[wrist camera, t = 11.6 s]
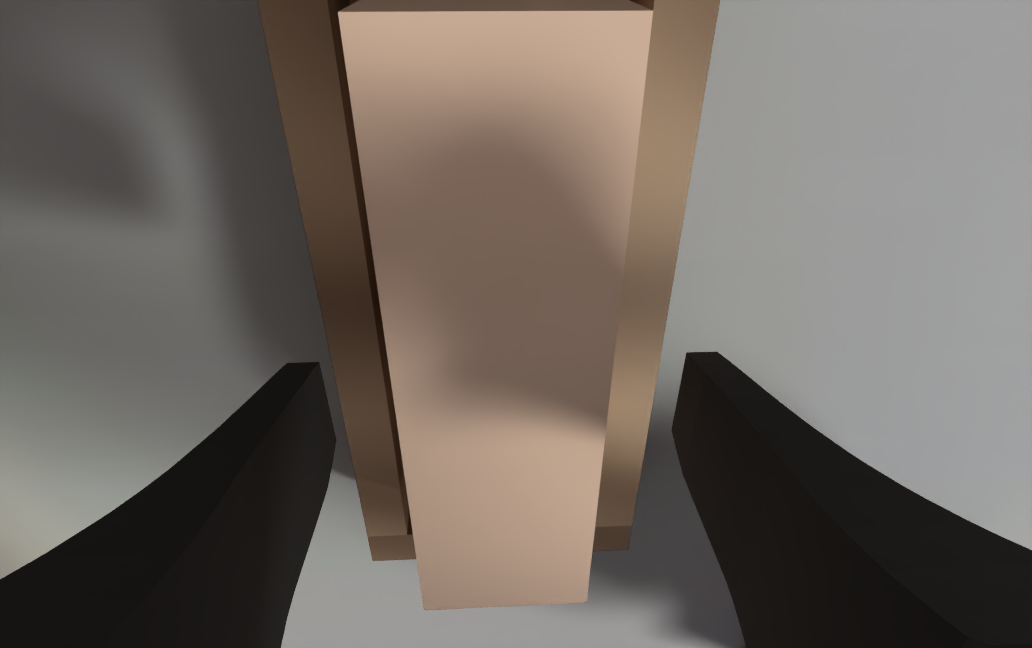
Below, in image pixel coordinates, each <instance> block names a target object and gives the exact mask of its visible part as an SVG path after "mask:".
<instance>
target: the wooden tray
mask: <svg viewBox="0 0 1032 648" xmlns="http://www.w3.org/2000/svg"><path fill="white" fill-rule="evenodd" d="M257 1H258V6H259V10H260V15H261V20H262V25H263V30H264V35H265V40H266V45H267V49H268V54H269V59H270V64H271V69H272V74H273V79H274V83H275V88H276V93H277V98H278V103H279V108H280V113H281V118H282V122H283V127H284V132H285V137H286V142H287V147H288V152H289V156H290V161H291V166H292V171H293V176H294V181H295V186H296V191H297V195H298V200H299V205H300V210H301V215H302V220H303V225H304V229H305V234H306V239H307V244H308V249H309V254H310V259H311V264H312V268H313V273H314V278H315V283H316V288H317V293H318V298H319V302H320V307H321V312H322V317H323V322H324V327H325V332H326V337H327V341H328V346H329V351H330V356H331V361H332V366H333V371H334V375H335V380H336V385H337V390H338V395H339V400H340V405H341V409H342V414H343V419H344V424H345V429H346V434H347V439H348V444H349V448H350V453H351V458H352V463H353V468H354V473H355V478H356V482H357V487H358V492H359V497H360V502H361V507H362V512H363V517H364V521H365V526H366V531H367V536H368V541H369V546H370V551H371V555H372V560H373V561H384V560H407V559H416V552H415V545H414V538H413V531H412V524H411V517H410V510H409V504H408V497H407V490H406V483H405V476H404V469H403V462H402V455H401V448H400V441H399V434H398V427H397V420H396V413H395V406H394V399H393V392H392V385H391V378H390V371H389V364H388V358H387V351H386V344H385V337H384V330H383V323H382V316H381V309H380V302H379V295H378V288H377V281H376V274H375V267H374V260H373V253H372V246H371V239H370V232H369V225H368V218H367V211H366V205H365V198H364V191H363V184H362V177H361V170H360V163H359V156H358V149H357V142H356V135H355V128H354V121H353V114H352V107H351V100H350V93H349V86H348V79H347V72H346V65H345V59H344V52H343V45H342V38H341V31H340V24H339V17H338V12H339V11H340V10H342V9H344V8H346V7H348V6H350V5H352V4H353V3H355V2H357V1H359V0H257ZM629 1H632V2H634V3H637V4H639V5H641V6H644V7H646V8H648V9H651V10H653V18H652V27H651V35H650V44H649V53H648V62H647V71H646V80H645V89H644V97H643V106H642V115H641V124H640V133H639V142H638V151H637V160H636V168H635V177H634V186H633V195H632V204H631V213H630V222H629V231H628V239H627V248H626V257H625V266H624V275H623V284H622V293H621V302H620V310H619V319H618V328H617V337H616V346H615V355H614V364H613V373H612V381H611V390H610V399H609V408H608V417H607V426H606V435H605V444H604V452H603V461H602V470H601V479H600V488H599V497H598V506H597V515H596V523H595V532H594V541H593V550H592V551H609V550H628V548H629V542H630V536H631V530H632V524H633V518H634V512H635V506H636V500H637V494H638V488H639V482H640V476H641V470H642V464H643V458H644V452H645V446H646V440H647V434H648V428H649V422H650V416H651V410H652V404H653V398H654V392H655V386H656V380H657V374H658V368H659V362H660V356H661V350H662V344H663V338H664V333H665V327H666V321H667V315H668V309H669V303H670V297H671V291H672V285H673V279H674V273H675V267H676V261H677V255H678V249H679V243H680V237H681V231H682V225H683V219H684V213H685V207H686V201H687V195H688V189H689V183H690V177H691V171H692V165H693V159H694V153H695V147H696V141H697V135H698V129H699V123H700V117H701V111H702V105H703V99H704V93H705V87H706V81H707V75H708V69H709V63H710V57H711V51H712V45H713V40H714V34H715V28H716V22H717V16H718V10H719V4H720V0H629Z"/></svg>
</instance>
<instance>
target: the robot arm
mask: <svg viewBox="0 0 1032 648" xmlns="http://www.w3.org/2000/svg"><path fill="white" fill-rule="evenodd" d="M672 433H673V438H674V442H675V446H676V450H677V454H678V458H679V461H680V465H681V469H682V472H683V476H684V478H685V481H686V483H687V486H688V488H689V491H690V493H691V496H692V498H693V501H694V503H695V506H696V508H697V511H698V513H699V516H700V518H701V521H702V523H703V525H704V528H705V530H706V533H707V535H708V538H709V540H710V542H711V545H712V547H713V550H714V552H715V555H716V557H717V560H718V562H719V564H720V567H721V569H722V572H723V574H724V577H725V580H726V582H727V585H728V588H729V591H730V593H731V596H732V599H733V602H734V606H735V609H736V613H737V616H738V619H739V623H740V626H741V629H742V633H743V636H744V640H745V643H746V646H747V648H1032V550H1030V549H1028V548H1025V547H1023V546H1021V545H1019V544H1016V543H1014V542H1012V541H1010V540H1007V539H1005V538H1003V537H1001V536H999V535H997V534H994V533H992V532H990V531H988V530H986V529H984V528H982V527H980V526H978V525H976V524H974V523H972V522H970V521H967V520H965V519H964V518H962V517H960V516H958V515H956V514H954V513H952V512H950V511H948V510H946V509H944V508H942V507H941V506H939V505H937V504H935V503H933V502H931V501H929V500H927V499H925V498H923V497H922V496H920V495H918V494H916V493H914V492H913V491H911V490H909V489H907V488H906V487H904V486H902V485H900V484H899V483H897V482H895V481H894V480H892V479H890V478H889V477H887V476H885V475H884V474H882V473H881V472H879V471H877V470H876V469H874V468H872V467H871V466H869V465H867V464H866V463H864V462H863V461H861V460H860V459H858V458H856V457H855V456H853V455H852V454H850V453H849V452H847V451H846V450H844V449H843V448H842V447H840V446H839V445H837V444H836V443H834V442H833V441H832V440H830V439H829V438H827V437H826V436H824V435H823V434H822V433H820V432H819V431H817V430H816V429H815V428H813V427H812V426H810V425H809V424H808V423H806V422H805V421H804V420H802V419H801V418H800V417H798V416H797V415H796V414H795V413H793V412H792V411H791V410H789V409H788V408H787V407H786V406H784V405H783V404H782V403H780V402H779V401H778V400H777V399H775V398H774V397H773V396H772V395H770V394H769V393H768V392H767V391H765V390H764V389H763V388H762V387H760V386H759V385H758V384H757V383H756V382H754V381H753V380H752V379H751V378H749V377H748V376H747V375H746V374H745V373H743V372H742V371H741V370H740V369H738V368H737V367H736V366H735V365H733V364H732V363H731V362H730V361H728V360H727V359H726V358H725V357H723V356H722V355H721V354H719V353H718V352H691V353H686V358H685V363H684V368H683V374H682V379H681V384H680V389H679V394H678V400H677V405H676V410H675V415H674V420H673V425H672ZM335 444H336V437H335V433H334V428H333V424H332V419H331V415H330V410H329V405H328V401H327V396H326V392H325V387H324V382H323V378H322V373H321V369H320V364H319V362H307V363H287V364H286V365H285V366H283V367H282V368H281V369H280V370H279V371H278V372H277V373H276V374H275V375H274V376H273V377H272V378H271V379H269V380H268V381H267V382H266V383H265V384H264V385H263V386H262V387H261V388H260V389H259V390H258V391H257V392H256V393H255V394H254V395H253V396H252V397H251V398H250V399H249V400H248V401H247V402H245V403H244V404H243V405H242V406H241V407H240V408H239V409H238V410H237V411H236V412H235V413H234V414H232V415H231V416H230V417H229V418H228V419H227V420H226V421H225V422H224V423H223V424H222V425H221V426H220V427H218V428H217V429H216V430H215V431H214V432H213V433H212V434H210V435H209V436H208V437H207V438H206V439H205V440H203V441H202V442H201V443H200V444H199V445H197V446H196V447H195V448H194V449H193V450H191V451H190V452H189V453H188V454H187V455H186V456H184V457H183V458H182V459H181V460H180V461H178V462H177V463H176V464H175V465H174V466H173V467H171V468H170V469H169V470H168V471H166V472H165V473H164V474H162V475H161V476H160V477H159V478H157V479H156V480H155V481H153V482H152V483H151V484H149V485H148V486H147V487H145V488H144V489H143V490H141V491H140V492H138V493H137V494H136V495H134V496H133V497H131V498H130V499H129V500H127V501H126V502H124V503H123V504H122V505H120V506H119V507H117V508H116V509H114V510H113V511H112V512H110V513H109V514H107V515H106V516H104V517H103V518H101V519H99V520H98V521H96V522H95V523H93V524H92V525H90V526H88V527H87V528H85V529H84V530H82V531H80V532H79V533H77V534H76V535H74V536H73V537H71V538H69V539H68V540H66V541H65V542H63V543H61V544H60V545H58V546H57V547H55V548H54V549H52V550H50V551H49V552H47V553H45V554H44V555H42V556H40V557H39V558H37V559H35V560H34V561H32V562H30V563H28V564H27V565H25V566H23V567H21V568H20V569H18V570H16V571H14V572H13V573H11V574H9V575H7V576H6V577H4V578H2V579H0V648H281V644H282V639H283V634H284V630H285V625H286V620H287V616H288V613H289V609H290V605H291V602H292V598H293V594H294V591H295V588H296V585H297V582H298V579H299V576H300V573H301V570H302V566H303V563H304V560H305V557H306V554H307V551H308V548H309V545H310V542H311V539H312V536H313V533H314V529H315V526H316V523H317V520H318V517H319V514H320V511H321V507H322V504H323V501H324V498H325V495H326V491H327V488H328V483H329V478H330V473H331V468H332V462H333V456H334V450H335Z"/></svg>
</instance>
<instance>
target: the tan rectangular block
mask: <svg viewBox="0 0 1032 648" xmlns="http://www.w3.org/2000/svg"><path fill="white" fill-rule="evenodd" d="M338 17H339V24H340V31H341V38H342V45H343V52H344V59H345V65H346V72H347V79H348V86H349V93H350V100H351V107H352V114H353V121H354V128H355V135H356V142H357V149H358V156H359V163H360V170H361V177H362V184H363V191H364V198H365V205H366V211H367V218H368V225H369V232H370V239H371V246H372V253H373V260H374V267H375V274H376V281H377V288H378V295H379V302H380V309H381V316H382V323H383V330H384V337H385V344H386V351H387V358H388V364H389V371H390V378H391V385H392V392H393V399H394V406H395V413H396V420H397V427H398V434H399V441H400V448H401V455H402V462H403V469H404V476H405V483H406V490H407V497H408V504H409V510H410V517H411V524H412V531H413V538H414V545H415V552H416V559H417V566H418V573H419V580H420V587H421V594H422V601H423V608H424V610H441V609H462V608H482V607H502V606H522V605H542V604H562V603H582V602H587V594H588V586H589V577H590V568H591V559H592V550H593V541H594V532H595V523H596V515H597V506H598V497H599V488H600V479H601V470H602V461H603V452H604V444H605V435H606V426H607V417H608V408H609V399H610V390H611V381H612V373H613V364H614V355H615V346H616V337H617V328H618V319H619V310H620V302H621V293H622V284H623V275H624V266H625V257H626V248H627V239H628V231H629V222H630V213H631V204H632V195H633V186H634V177H635V168H636V160H637V151H638V142H639V133H640V124H641V115H642V106H643V97H644V89H645V80H646V71H647V62H648V53H649V44H650V35H651V27H652V18H653V10H651V9H648V8H646V7H644V6H641V5H639V4H637V3H634V2H632V1H629V0H359V1H357V2H355V3H353V4H352V5H350V6H348V7H346V8H344V9H342V10H340V11H339V12H338Z"/></svg>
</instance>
